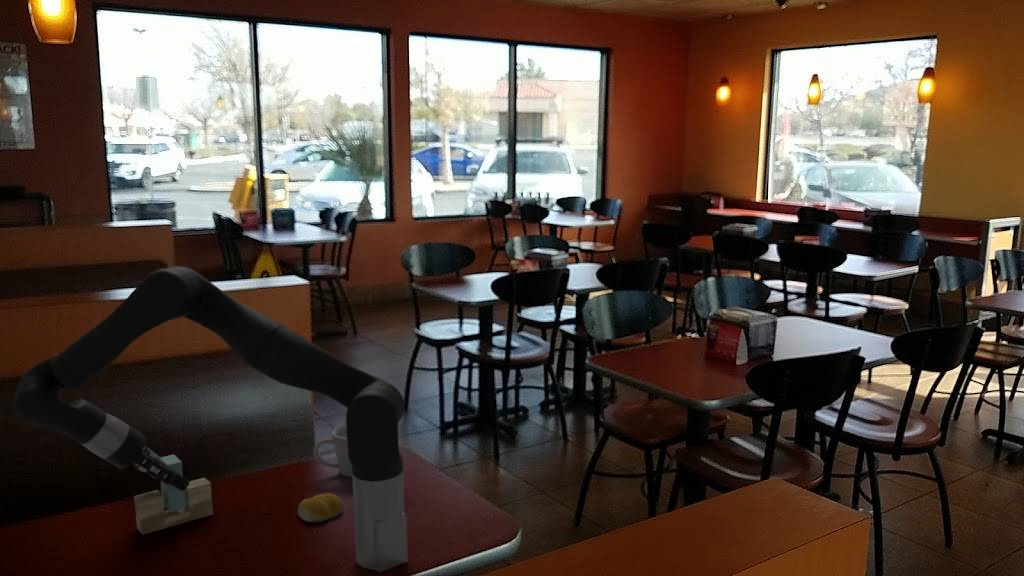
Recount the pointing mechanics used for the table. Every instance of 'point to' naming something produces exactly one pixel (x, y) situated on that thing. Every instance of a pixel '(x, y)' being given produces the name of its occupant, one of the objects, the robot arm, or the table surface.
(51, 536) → the table surface
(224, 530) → the table surface
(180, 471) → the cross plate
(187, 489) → the slot plate
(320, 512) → the bread roll
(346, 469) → the mug
